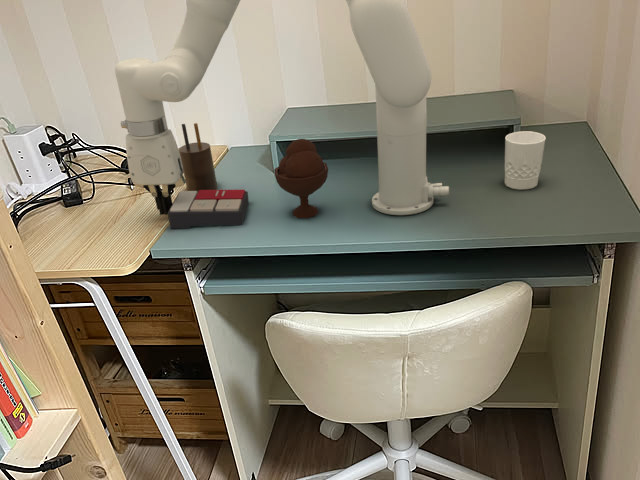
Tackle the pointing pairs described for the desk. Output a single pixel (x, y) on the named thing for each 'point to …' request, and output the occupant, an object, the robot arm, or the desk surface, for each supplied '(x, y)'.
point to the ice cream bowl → (302, 174)
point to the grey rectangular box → (208, 208)
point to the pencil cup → (197, 163)
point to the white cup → (523, 159)
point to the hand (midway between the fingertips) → (166, 212)
